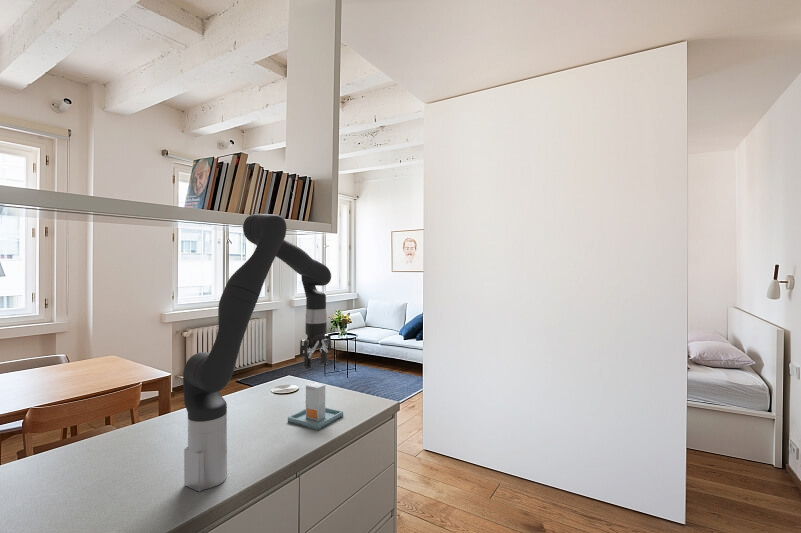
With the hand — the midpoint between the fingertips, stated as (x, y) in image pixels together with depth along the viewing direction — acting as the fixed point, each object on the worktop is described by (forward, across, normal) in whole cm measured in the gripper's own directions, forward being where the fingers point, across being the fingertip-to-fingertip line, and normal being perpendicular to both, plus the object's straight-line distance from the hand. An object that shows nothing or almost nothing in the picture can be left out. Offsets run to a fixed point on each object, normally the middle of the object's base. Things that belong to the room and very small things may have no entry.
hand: (315, 365), depth 145 cm
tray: (+20, 0, 0) cm, 20 cm away
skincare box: (+19, 0, 0) cm, 19 cm away
